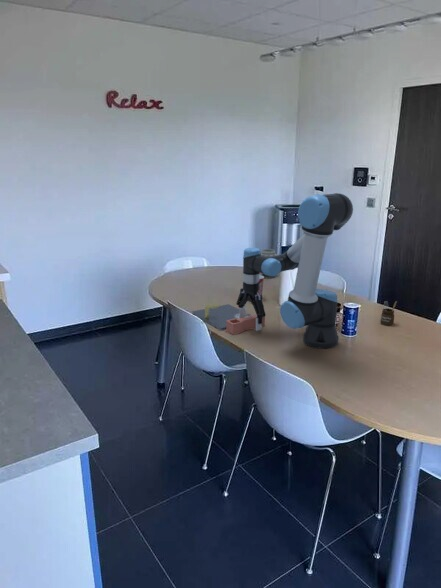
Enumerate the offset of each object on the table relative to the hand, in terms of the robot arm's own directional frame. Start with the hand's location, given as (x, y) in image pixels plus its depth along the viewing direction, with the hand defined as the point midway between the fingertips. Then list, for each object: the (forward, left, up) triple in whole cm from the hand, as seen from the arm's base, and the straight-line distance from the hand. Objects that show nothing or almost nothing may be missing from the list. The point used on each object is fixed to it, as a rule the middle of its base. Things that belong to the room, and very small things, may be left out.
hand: (250, 324), depth 215 cm
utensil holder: (-31, -58, -1) cm, 66 cm away
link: (0, +2, -1) cm, 3 cm away
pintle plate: (+18, +3, -1) cm, 18 cm away
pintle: (+12, -4, 0) cm, 12 cm away
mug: (+34, -28, -1) cm, 44 cm away
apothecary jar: (+70, -63, -1) cm, 94 cm away
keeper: (+18, +10, -1) cm, 21 cm away
